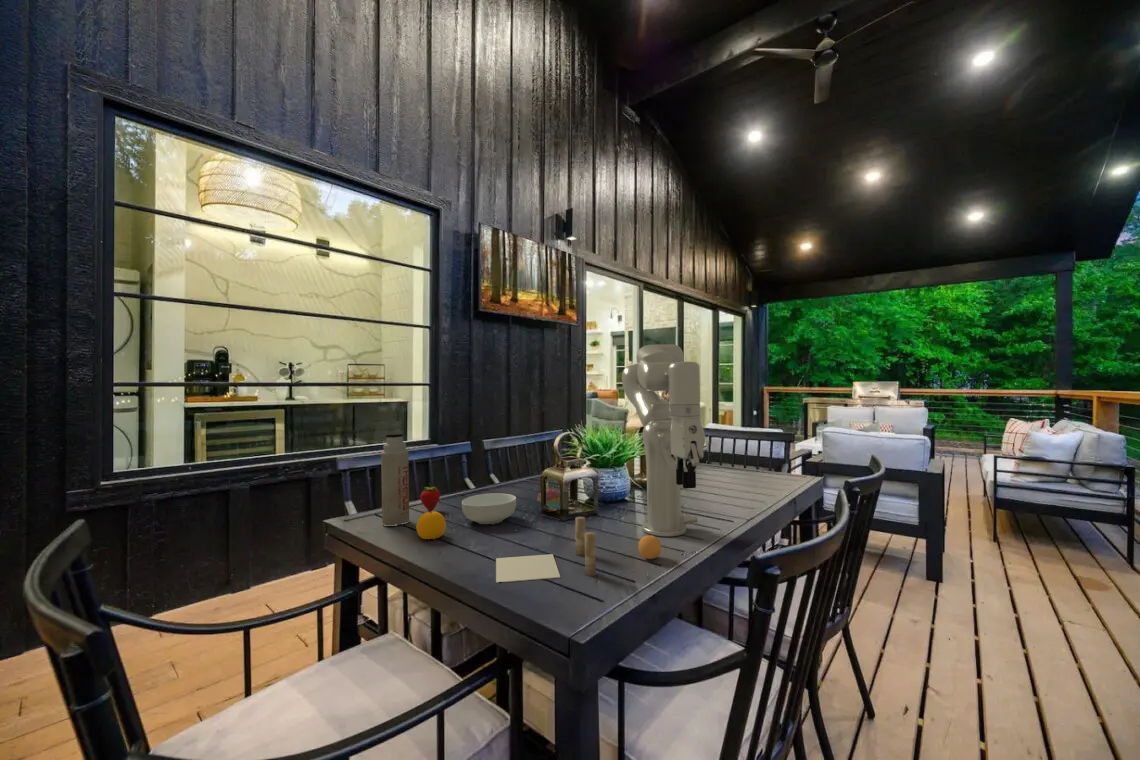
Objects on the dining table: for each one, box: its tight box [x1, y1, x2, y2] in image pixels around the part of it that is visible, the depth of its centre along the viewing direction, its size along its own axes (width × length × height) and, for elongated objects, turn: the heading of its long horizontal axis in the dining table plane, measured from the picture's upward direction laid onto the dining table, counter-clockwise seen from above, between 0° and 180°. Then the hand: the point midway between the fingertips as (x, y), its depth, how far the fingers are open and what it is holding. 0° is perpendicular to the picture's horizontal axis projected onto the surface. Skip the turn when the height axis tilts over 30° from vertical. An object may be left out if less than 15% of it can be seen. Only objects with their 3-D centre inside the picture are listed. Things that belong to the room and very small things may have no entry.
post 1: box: [575, 516, 586, 557], centre depth 118 cm, size 2×2×9 cm
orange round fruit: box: [415, 510, 447, 541], centre depth 132 cm, size 8×8×8 cm
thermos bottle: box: [380, 432, 410, 525], centre depth 147 cm, size 8×8×28 cm
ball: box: [638, 534, 662, 560], centre depth 114 cm, size 6×6×6 cm
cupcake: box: [537, 481, 561, 509], centre depth 159 cm, size 9×8×12 cm
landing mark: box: [495, 553, 561, 584], centre depth 110 cm, size 14×14×1 cm
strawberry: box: [419, 484, 441, 512], centre depth 159 cm, size 6×8×10 cm
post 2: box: [584, 531, 597, 577], centre depth 106 cm, size 2×2×9 cm
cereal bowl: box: [461, 492, 517, 525], centre depth 148 cm, size 17×17×7 cm
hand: (685, 485), depth 116 cm, fingers open, 3 cm apart
